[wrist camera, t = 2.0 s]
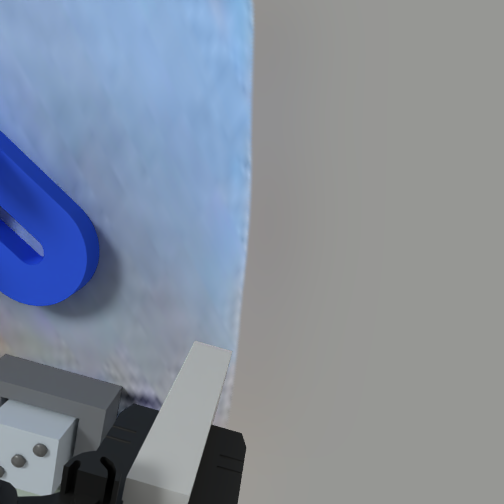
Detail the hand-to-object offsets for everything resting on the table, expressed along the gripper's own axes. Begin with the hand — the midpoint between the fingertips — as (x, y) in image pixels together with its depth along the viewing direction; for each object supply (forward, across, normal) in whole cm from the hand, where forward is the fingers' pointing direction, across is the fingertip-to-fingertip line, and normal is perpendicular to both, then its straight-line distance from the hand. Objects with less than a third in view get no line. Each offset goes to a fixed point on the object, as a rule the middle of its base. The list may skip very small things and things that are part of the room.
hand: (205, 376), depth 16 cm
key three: (+12, -12, -17) cm, 24 cm away
